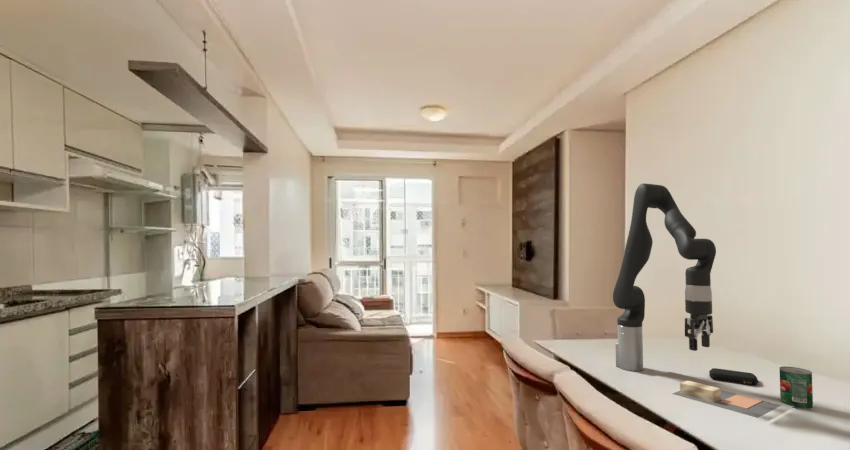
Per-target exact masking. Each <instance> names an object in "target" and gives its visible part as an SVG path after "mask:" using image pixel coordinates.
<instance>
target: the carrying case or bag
mask: <svg viewBox="0 0 850 450" xmlns="http://www.w3.org/2000/svg"><path fill="white" fill-rule="evenodd" d="M708 373H709V374H708V376H709V377H710V379H711V380H714V381H720V382H727V383H733V384H740V385H747V386H756V385H758V384H759V379H758V377H757V376H756V375H755V374H754V373H751V372H748V371H747V372H746V371H738V370H731V369H724V368H723V369H722V368H717V367H716V368H715V367H714V368H711V369H710V370H709V372H708Z"/></svg>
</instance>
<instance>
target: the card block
mask: <svg viewBox="0 0 850 450" xmlns="http://www.w3.org/2000/svg"><path fill="white" fill-rule="evenodd" d="M721 390H722V389H721V388H720V387H717V386H712V385H708V384H704V383H699V382H697V381H692V380H685V381H682V382H679V391H680V394H684V395H688V396H691V397H695V398H698V399H702V400H706V401H709V402H713V403H714V402H716V401H719V400H721Z"/></svg>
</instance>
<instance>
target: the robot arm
mask: <svg viewBox="0 0 850 450" xmlns="http://www.w3.org/2000/svg"><path fill="white" fill-rule="evenodd" d="M632 205H633V206H632V214H631V221H630V225H629V231H628V236H627V239H626V243H625V248H624V255H623V258H622V262H621V266H620V270H619V273H618V277H617V279H616V283H615V286H614V290H613V293H612V301H613V304H614V306H616V308H617V309H621V310H623V313H622V314H621V315H619V316H618V317H617V321H616V322H617V342H615V366H616V367H618V368H620V369H622V370H626V371H631V372H632V371H634V372H637V371H638V372H639V371H640V372H641V371H643V370H644V344H643V342H644V341H643V337H644V336H643V321H644V320H645V314H646V313H645V309H646V308H645V307H646V299H645V298H646V297H645V293H644V291H643V289H642V288H641V287H640V286H638V285H635V282H636V280H637V276H638V275H639V274H640V272H641V271H642V270H643V268H644V267H645V265H646V264H647V263H648V261H649V259H650V256H651V252H652V247H653V237H652V234H651V230H650V229H649V227H648V226H649V225H648V223H647V213H648V212H647V211H648V208H649V209H658V210H660V211H661V212H662V214H664V221H663V222H664V227H665V229H666V230H667V231H668V233H669V234H670V236H671V237H672V238H673V239H674V242H675V245H676V248H677V251H678V253H679V256H681V257H682V258H683V259H685V260H689V261H692V260H693V261H694V260H695V261H696V260H697V262H696V264H695V265H693V266H690V267H687V268H686V269H685V290H684V297H685V298H684V302H685V303H684V304H685V307H684V308H685V313H687V314H690V317H684V337H687V338H688V349H689V350H690V351H693V352H696V351H698V336H699V334H701V337H700V338H701V346H702V347H703V348H710V346H711V344H710V343H711V341H710V337H711V335H712V334H713V333H714V325H713V323H714V322H713V315H712V314H713V293H712V285H711V284H712V283H711V281H712V280H711V273H712V269H713V266H714V262H715V259H716V254H717V248H716V245H715V243H714V241H713V240H711V239H710V238H696V237H697V236H696V235H697V231H696V229H695V227H694V226H693V225H692V224H691V223H690V221H688V219H687V218H686V217H685V216H684V215H683V214H682V212H681V210H680V209H679V207H678V205H677V203H676V201H675V199H674V197H673V196H672V194H671V192H670V191H669V189H668V188H667V187H666V186H665V185H662V184H661V185H660V184H653V183H646V182H645V183H640V185H638V187H637V188H636V190H635V192H634V196H633V204H632Z"/></svg>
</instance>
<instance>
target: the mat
mask: <svg viewBox="0 0 850 450" xmlns="http://www.w3.org/2000/svg"><path fill="white" fill-rule="evenodd" d="M720 390H721V400H719V401H716V402H714V403H713V402H709V401H706V400H702V399H698V398H695V397H691V396H688V395H684V394H680V390H678V391H674V392H673V393H671V394H672V395H674V396H677V397H678V396H679V397H681V398H686V399H689V400H692V401H697V402H700V403H704V404H706V405H710V406H713V407H716V408H717V407H718V408H721V409H724V410H729V411H731V412H732V411H733V412H735V413H739V414H742V415H747V416H750V417H753V418H757V419H758V418H761V416H764V415H765V414H767V413H769V412H771V411H773V410H775V409H777V408H779V407H780V406H781V407H782V404H779V403H775V402H770V401H766V400H762V399H758V398H754V397H750V396H746V395H742V394H738V393H734V392H731V391H726V390H724V389H723V390H722V389H720Z"/></svg>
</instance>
